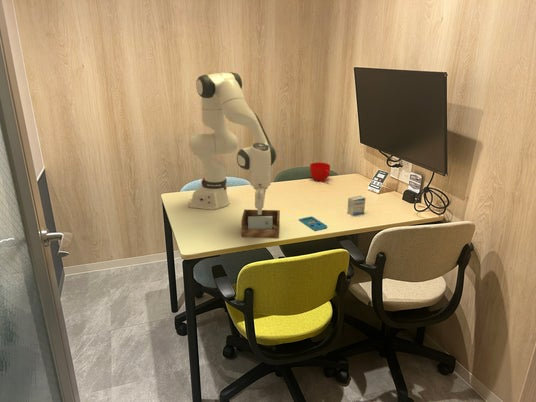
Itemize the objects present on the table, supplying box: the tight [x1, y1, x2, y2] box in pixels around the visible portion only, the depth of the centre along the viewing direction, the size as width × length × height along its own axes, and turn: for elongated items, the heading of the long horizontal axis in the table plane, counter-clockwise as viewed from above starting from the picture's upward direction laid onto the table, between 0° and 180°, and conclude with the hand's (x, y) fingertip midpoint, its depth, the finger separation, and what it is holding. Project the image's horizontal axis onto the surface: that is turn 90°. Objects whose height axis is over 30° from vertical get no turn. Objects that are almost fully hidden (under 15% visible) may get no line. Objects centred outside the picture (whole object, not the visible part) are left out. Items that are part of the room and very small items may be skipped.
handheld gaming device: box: [298, 216, 328, 232], centre depth 193 cm, size 8×1×15 cm
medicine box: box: [346, 195, 366, 217], centre depth 205 cm, size 8×4×9 cm, turn 117°
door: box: [248, 216, 272, 230], centre depth 179 cm, size 11×3×8 cm, turn 92°
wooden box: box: [240, 208, 281, 239], centre depth 184 cm, size 17×14×8 cm
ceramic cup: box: [309, 162, 331, 182], centre depth 255 cm, size 13×17×10 cm
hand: (260, 209), depth 177 cm, fingers open, 8 cm apart
